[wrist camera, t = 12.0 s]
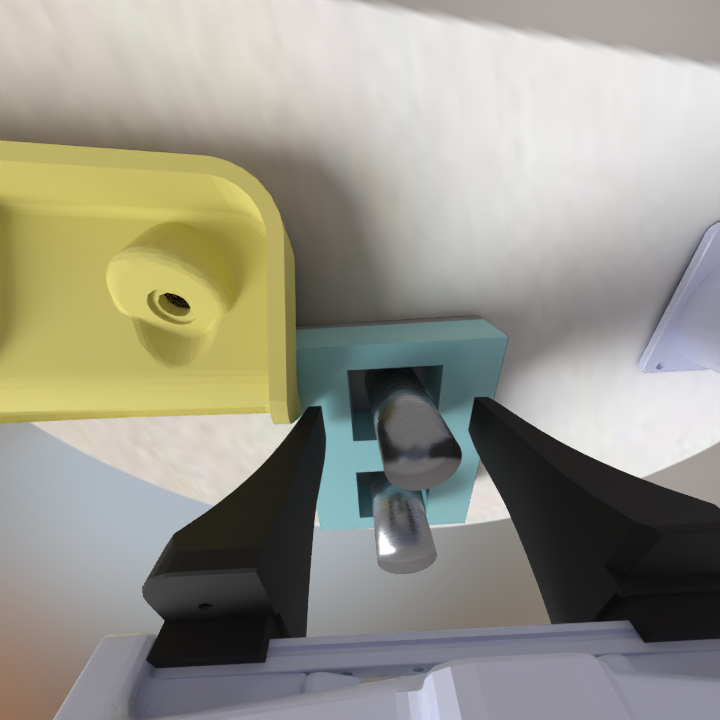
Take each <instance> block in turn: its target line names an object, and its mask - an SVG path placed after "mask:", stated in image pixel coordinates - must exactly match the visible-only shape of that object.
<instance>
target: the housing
mask: <svg viewBox="0 0 720 720" xmlns="http://www.w3.org/2000/svg"><path fill="white" fill-rule="evenodd" d="M507 341H508V336H507V335H505V334H504V333H503V332H501V331H500V330H498V329H497V328H496V327H494V326H493V325H491V324H490V323H489V322H487V321H486V320H485V319H483V318H482V317H480V316H463V317H446V318H428V319H411V320H393V321H375V322H358V323H340V324H322V325H305V326H296V370H297V388H298V396H299V399H300V402H301V409H302V415H303V413H304V412H305V410H306V409H307V408H308V407H309V406H322V413H323V419H324V426H325V432H326V452H325V461H324V467H323V473H322V478H321V483H320V489H319V494H318V499H317V505H316V508H317V513H318V517H319V522H320V527H321V530H322V531H326V530H343V529H344V530H345V529H363V528H374V518H373V508H372V498H371V487H370V477H369V472H374V471H384V469H383V464H382V460H381V455H380V451H379V446H378V442H377V437H376V433H375V428H374V424H373V419H372V415H371V410H370V406H369V401H368V397H367V392H366V388H365V379H366V376H367V374H368V372H369V370H370V369H381V368H399V367H412V368H413V370H414V371H415V373H416V375H417V376H418V378H419V380H420V381H421V383H422V385H423V386H424V388H425V390H426V391H427V393H428V395H429V396H430V398H431V400H432V401H433V403H434V404H435V406H436V408H437V409H438V411H439V413H440V414H441V416H442V418H443V419H444V421H445V423H446V424H447V426H448V428H449V429H450V431H451V433H452V434H453V436H454V438H455V439H456V441H457V442H458V444H459V446H460V448H461V451H462V460H461V463H460V466H459V467H458V469H457V471H456V472H455V473H454V474H453V475H452V476H451V477H450V478H449V479H448V480H446V481H445V482H443V483H442V484H440V485H438V486H435V487H433V488H429V489H425V490H419V492H420V496H421V499H422V503H423V506H424V510H425V513H426V517H427V520H428V524H429V525H437V524H456V523H465V520H466V516H467V511H468V507H469V503H470V499H471V494H472V490H473V486H474V482H475V477H476V473H477V469H478V464H479V460H480V457H479V455H478V453H477V451H476V449H475V447H474V445H473V442H472V440H471V437H470V434H469V432H468V428H469V423H470V418H471V412H472V407H473V402H474V397H489V398H491V399H493V400H494V396H495V392H496V388H497V383H498V379H499V375H500V371H501V366H502V362H503V358H504V354H505V349H506V345H507ZM300 418H301V417H299V418H298V421H299V419H300Z"/></svg>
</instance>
